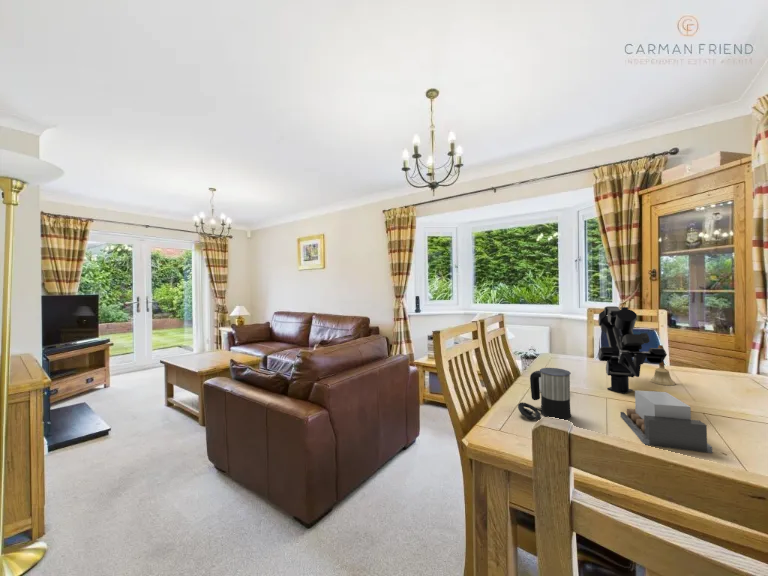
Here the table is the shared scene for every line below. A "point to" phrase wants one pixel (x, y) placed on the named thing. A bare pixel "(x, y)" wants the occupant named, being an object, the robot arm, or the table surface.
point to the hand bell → (662, 375)
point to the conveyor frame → (672, 433)
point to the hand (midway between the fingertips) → (637, 376)
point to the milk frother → (549, 394)
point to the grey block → (660, 405)
